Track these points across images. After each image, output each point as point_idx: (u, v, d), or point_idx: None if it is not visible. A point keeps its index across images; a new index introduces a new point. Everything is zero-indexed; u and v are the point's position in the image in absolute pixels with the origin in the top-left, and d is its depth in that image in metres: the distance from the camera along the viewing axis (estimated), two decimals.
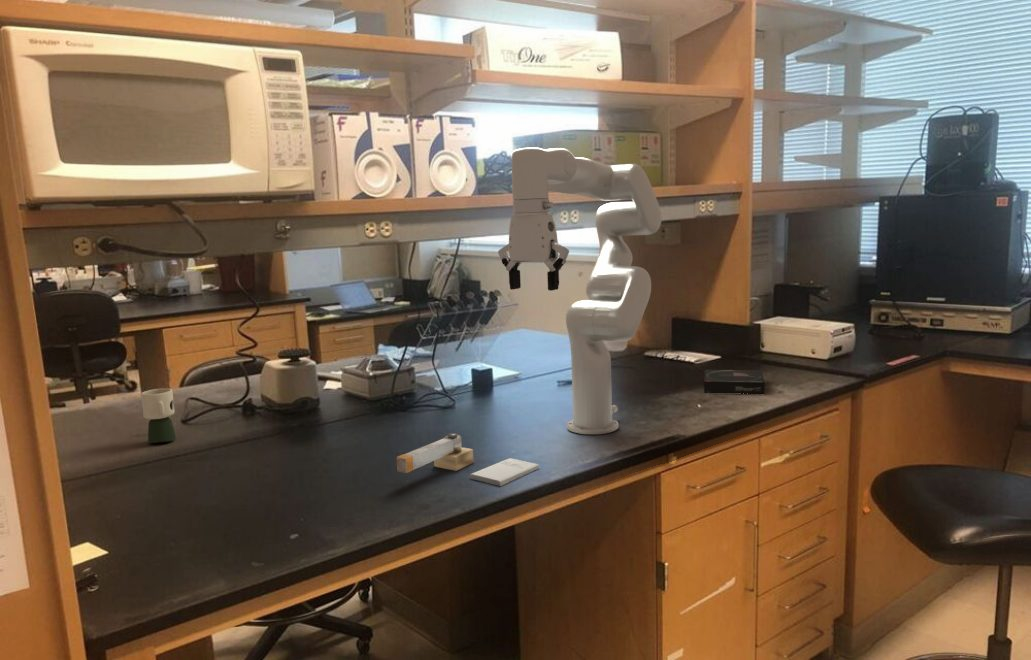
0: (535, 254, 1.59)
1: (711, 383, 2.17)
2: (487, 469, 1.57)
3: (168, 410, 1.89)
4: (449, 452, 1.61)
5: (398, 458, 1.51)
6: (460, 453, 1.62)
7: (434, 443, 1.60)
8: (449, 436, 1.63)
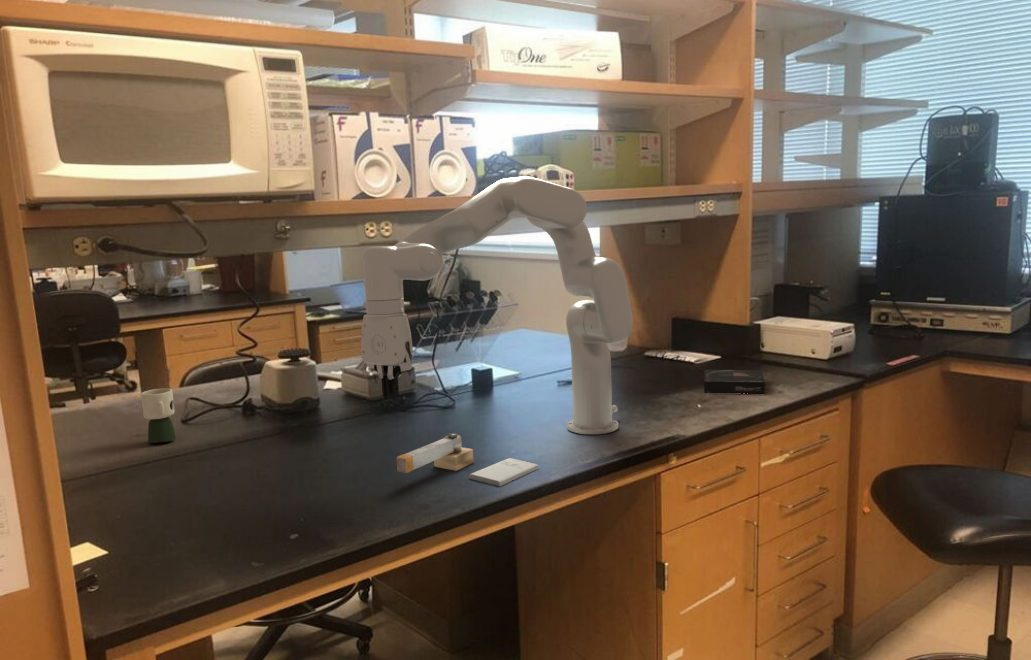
0: None
1: (711, 383, 2.17)
2: (486, 469, 1.57)
3: (168, 410, 1.89)
4: (449, 452, 1.61)
5: (398, 458, 1.51)
6: (460, 453, 1.62)
7: (434, 443, 1.60)
8: (449, 436, 1.63)
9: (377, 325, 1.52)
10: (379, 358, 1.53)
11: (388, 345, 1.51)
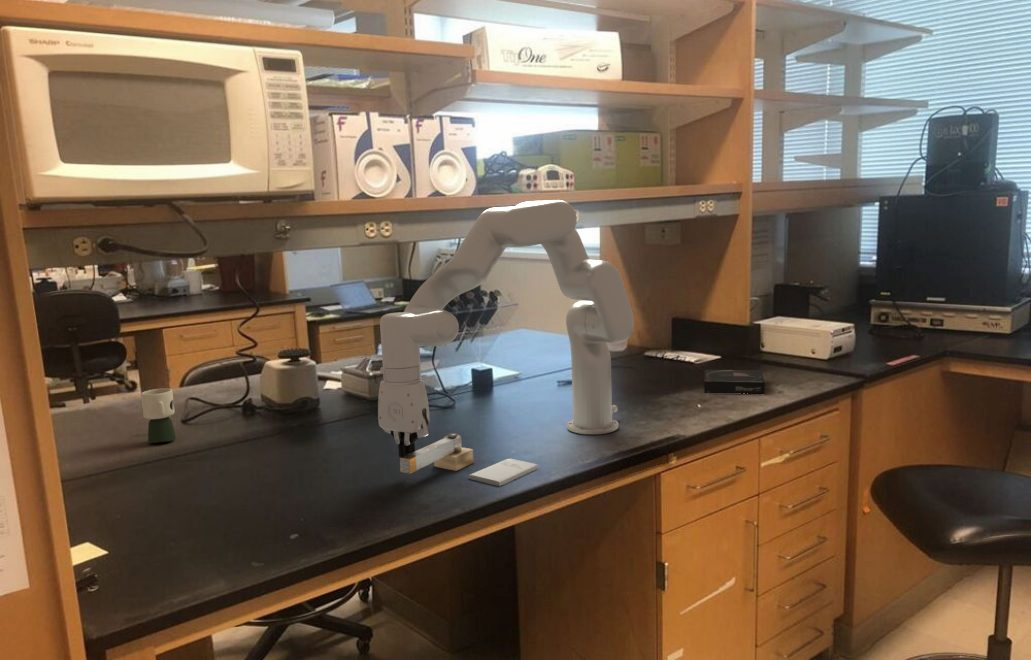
0: None
1: (711, 383, 2.17)
2: (486, 470, 1.57)
3: (168, 410, 1.89)
4: (450, 452, 1.61)
5: (402, 459, 1.51)
6: (460, 453, 1.62)
7: (435, 443, 1.60)
8: (449, 436, 1.63)
9: (394, 392, 1.52)
10: (396, 425, 1.53)
11: (405, 412, 1.51)
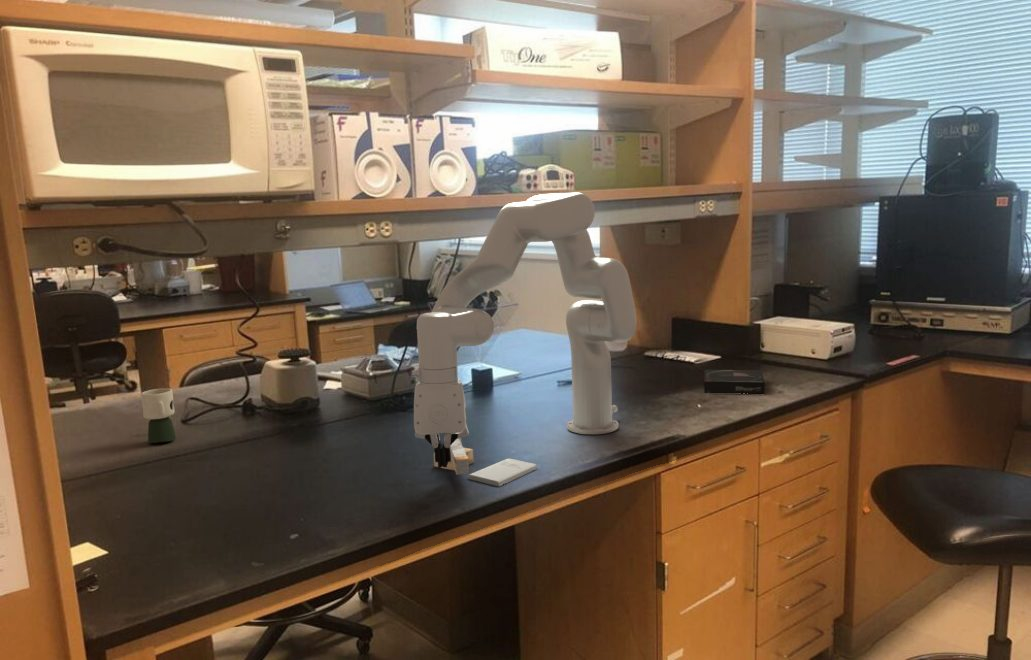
0: None
1: (711, 383, 2.17)
2: (485, 470, 1.57)
3: (168, 410, 1.89)
4: None
5: (458, 461, 1.48)
6: None
7: (453, 444, 1.59)
8: None
9: (437, 394, 1.48)
10: (439, 427, 1.49)
11: (451, 413, 1.48)
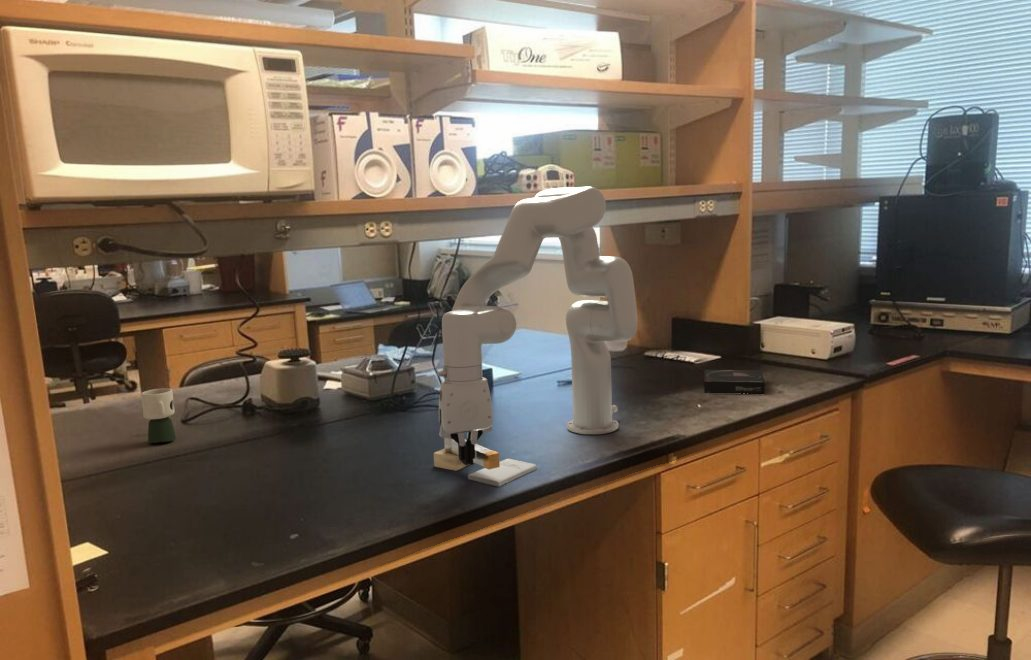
0: None
1: (711, 383, 2.17)
2: (485, 470, 1.57)
3: (168, 410, 1.89)
4: None
5: (491, 456, 1.50)
6: None
7: None
8: None
9: (468, 391, 1.49)
10: (469, 425, 1.50)
11: (481, 409, 1.50)
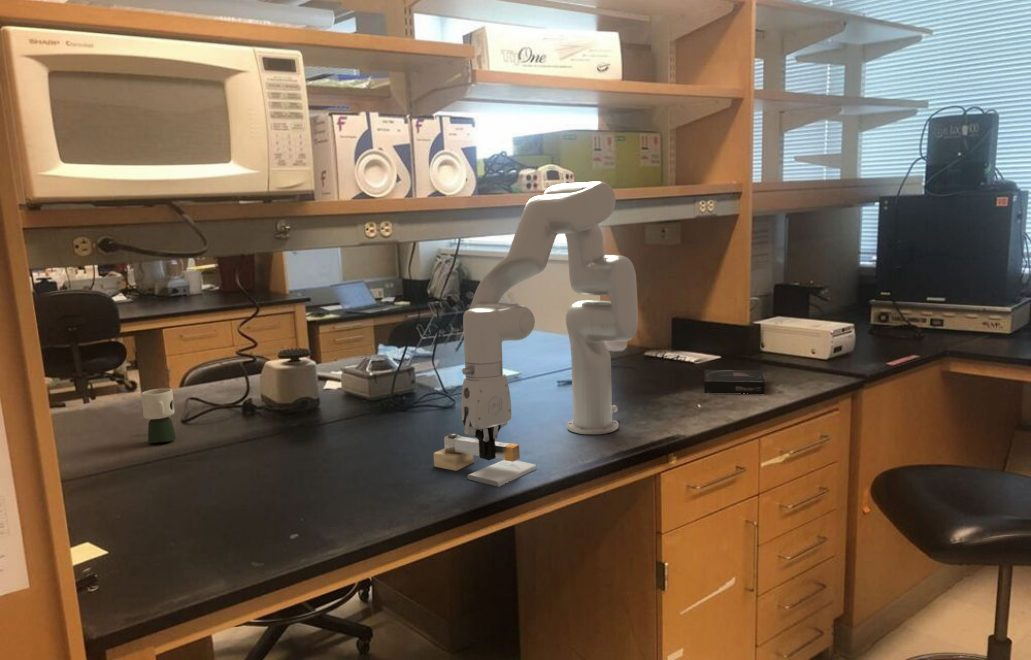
0: None
1: (711, 383, 2.17)
2: (484, 470, 1.57)
3: (168, 410, 1.89)
4: None
5: (514, 448, 1.55)
6: (460, 453, 1.62)
7: (471, 440, 1.61)
8: (455, 435, 1.63)
9: (493, 386, 1.51)
10: (495, 419, 1.52)
11: (503, 403, 1.54)
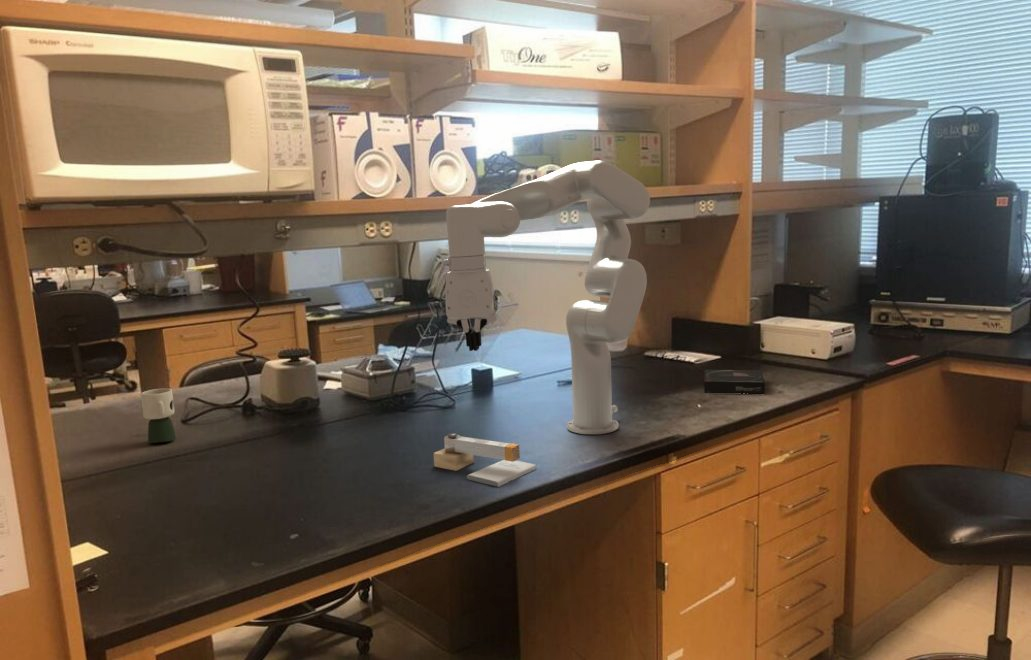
0: None
1: (711, 383, 2.17)
2: (484, 470, 1.57)
3: (168, 410, 1.89)
4: None
5: (514, 448, 1.55)
6: (460, 453, 1.62)
7: (471, 440, 1.61)
8: (455, 435, 1.63)
9: (466, 280, 1.59)
10: (468, 312, 1.60)
11: (479, 298, 1.59)
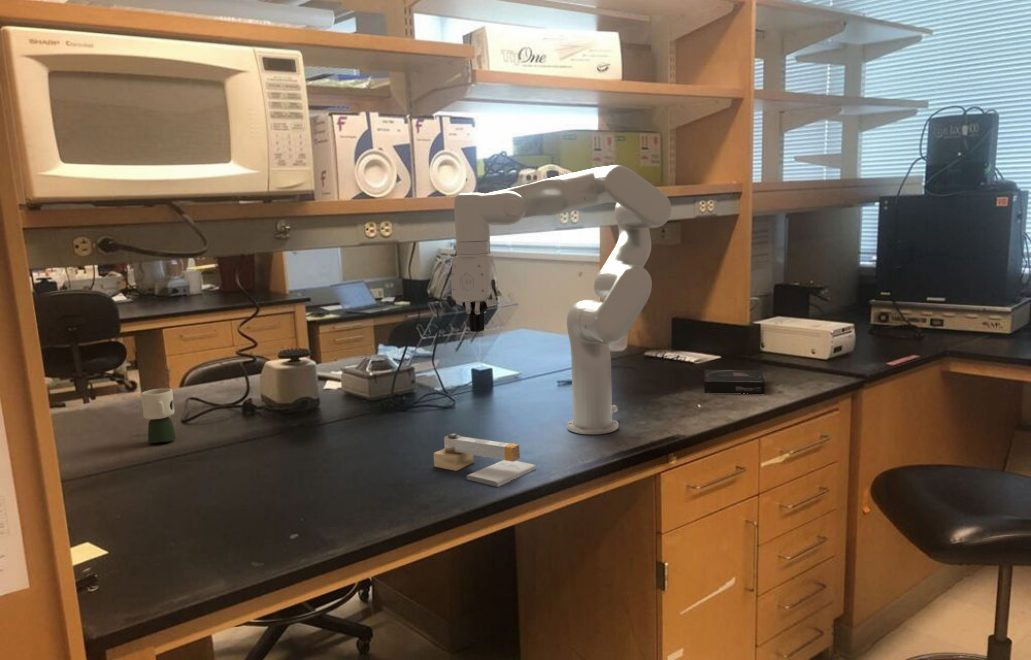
0: None
1: (711, 383, 2.17)
2: (484, 470, 1.57)
3: (168, 410, 1.89)
4: None
5: (514, 448, 1.55)
6: (460, 453, 1.62)
7: (471, 440, 1.61)
8: (455, 435, 1.63)
9: (466, 264, 1.68)
10: (467, 295, 1.69)
11: (476, 282, 1.67)
